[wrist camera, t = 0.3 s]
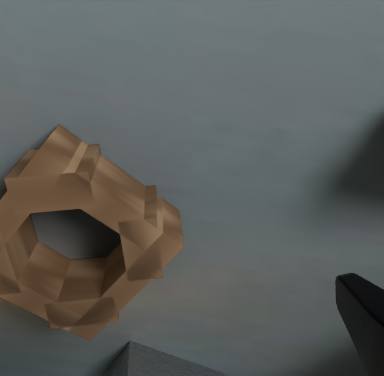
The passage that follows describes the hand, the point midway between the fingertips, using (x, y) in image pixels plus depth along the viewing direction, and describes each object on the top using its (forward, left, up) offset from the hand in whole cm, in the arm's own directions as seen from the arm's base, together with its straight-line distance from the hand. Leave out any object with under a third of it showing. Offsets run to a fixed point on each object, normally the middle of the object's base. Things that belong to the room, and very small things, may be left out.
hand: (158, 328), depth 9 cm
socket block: (0, +7, -14) cm, 16 cm away
